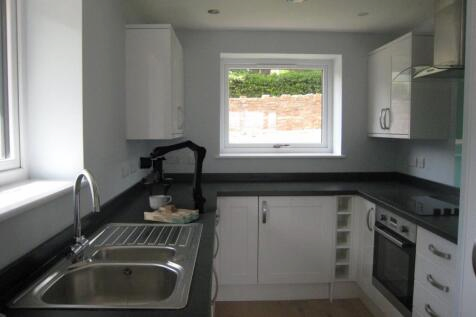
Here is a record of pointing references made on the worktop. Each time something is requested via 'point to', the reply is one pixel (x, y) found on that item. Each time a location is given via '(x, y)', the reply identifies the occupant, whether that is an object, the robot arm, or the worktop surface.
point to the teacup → (159, 201)
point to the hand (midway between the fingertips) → (157, 195)
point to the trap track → (172, 215)
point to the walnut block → (170, 209)
